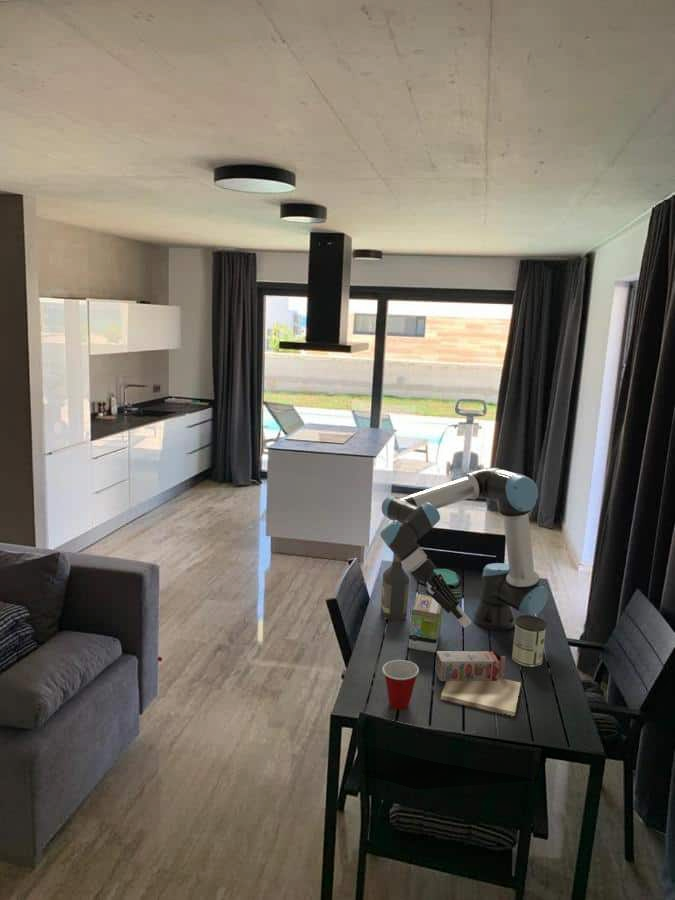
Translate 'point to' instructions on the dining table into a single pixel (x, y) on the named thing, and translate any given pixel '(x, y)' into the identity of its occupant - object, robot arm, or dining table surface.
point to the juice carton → (469, 665)
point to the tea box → (425, 624)
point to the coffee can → (529, 640)
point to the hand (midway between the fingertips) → (468, 624)
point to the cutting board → (484, 694)
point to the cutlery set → (448, 578)
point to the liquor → (395, 591)
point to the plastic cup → (400, 682)
